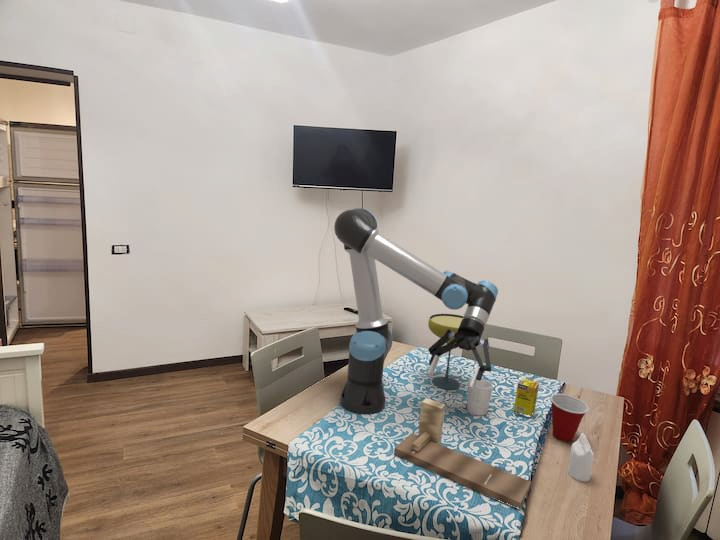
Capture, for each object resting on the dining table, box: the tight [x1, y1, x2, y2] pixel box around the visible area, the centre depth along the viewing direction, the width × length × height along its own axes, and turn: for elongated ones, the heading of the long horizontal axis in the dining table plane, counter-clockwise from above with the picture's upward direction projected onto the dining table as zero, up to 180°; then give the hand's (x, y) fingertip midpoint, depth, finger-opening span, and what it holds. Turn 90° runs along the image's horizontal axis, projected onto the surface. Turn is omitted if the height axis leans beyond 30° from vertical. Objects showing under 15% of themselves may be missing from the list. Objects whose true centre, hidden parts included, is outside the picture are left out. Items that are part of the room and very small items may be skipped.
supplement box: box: [513, 377, 540, 416], centre depth 154 cm, size 6×6×11 cm
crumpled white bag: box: [567, 432, 595, 483], centre depth 121 cm, size 6×12×6 cm
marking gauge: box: [412, 397, 446, 451], centre depth 127 cm, size 6×11×12 cm, turn 146°
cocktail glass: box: [428, 313, 464, 391], centre depth 171 cm, size 18×18×25 cm
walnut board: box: [393, 432, 532, 510], centre depth 120 cm, size 34×10×2 cm, turn 56°
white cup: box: [466, 378, 494, 416], centre depth 153 cm, size 8×8×10 cm
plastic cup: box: [550, 393, 589, 443], centre depth 140 cm, size 11×11×12 cm
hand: (449, 381), depth 138 cm, fingers open, 13 cm apart
